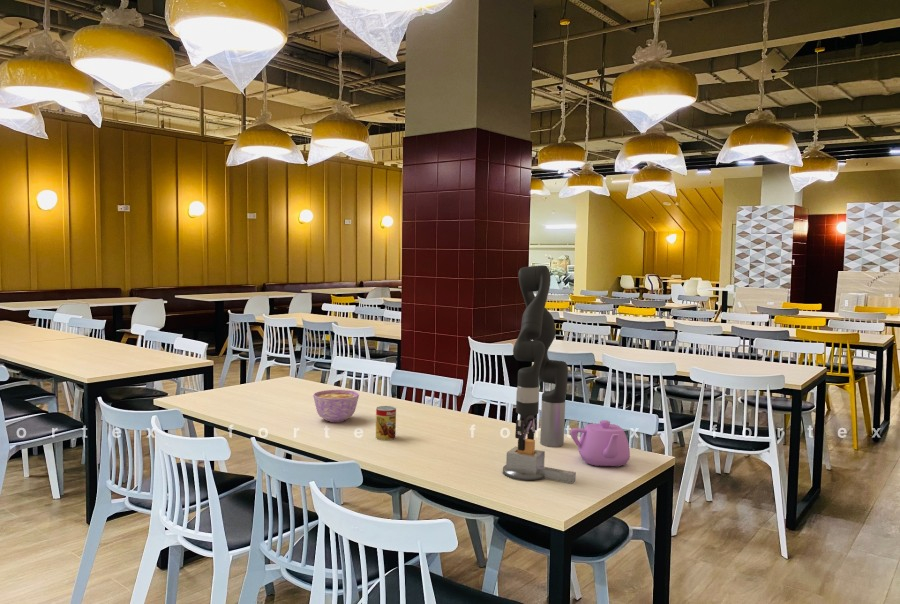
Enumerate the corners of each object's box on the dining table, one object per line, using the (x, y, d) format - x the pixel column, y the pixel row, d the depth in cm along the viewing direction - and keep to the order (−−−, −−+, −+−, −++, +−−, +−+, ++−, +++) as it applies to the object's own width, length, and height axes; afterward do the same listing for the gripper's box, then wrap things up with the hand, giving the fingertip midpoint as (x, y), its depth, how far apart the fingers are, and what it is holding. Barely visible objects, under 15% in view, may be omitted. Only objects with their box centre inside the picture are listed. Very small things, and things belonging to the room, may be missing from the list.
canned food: (392, 441, 252) (392, 410, 252) (373, 439, 254) (373, 409, 253) (397, 435, 260) (398, 406, 259) (379, 434, 262) (379, 405, 261)
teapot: (564, 454, 240) (565, 415, 239) (619, 455, 241) (621, 415, 240) (578, 474, 217) (580, 430, 216) (640, 475, 218) (642, 431, 217)
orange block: (519, 466, 219) (521, 437, 219) (533, 469, 217) (535, 440, 216) (516, 469, 217) (517, 439, 216) (530, 471, 214) (531, 442, 214)
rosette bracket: (512, 464, 227) (513, 443, 226) (580, 476, 216) (581, 454, 215) (495, 475, 214) (496, 453, 213) (567, 489, 202) (568, 466, 202)
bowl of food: (367, 418, 287) (368, 393, 287) (340, 428, 270) (340, 400, 269) (332, 412, 297) (332, 388, 296) (303, 421, 279) (303, 395, 278)
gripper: (524, 394, 223) (523, 440, 224) (509, 401, 211) (507, 450, 212) (545, 397, 220) (543, 443, 221) (530, 404, 207) (529, 454, 208)
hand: (525, 447), depth 216 cm, fingers open, 8 cm apart
